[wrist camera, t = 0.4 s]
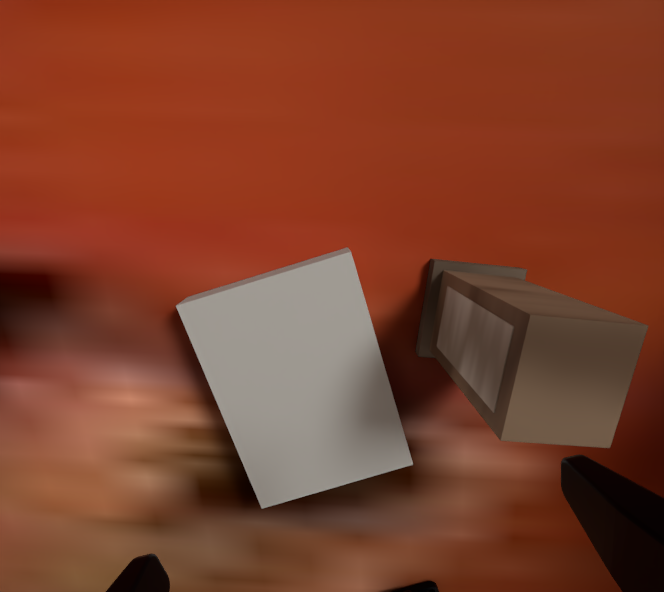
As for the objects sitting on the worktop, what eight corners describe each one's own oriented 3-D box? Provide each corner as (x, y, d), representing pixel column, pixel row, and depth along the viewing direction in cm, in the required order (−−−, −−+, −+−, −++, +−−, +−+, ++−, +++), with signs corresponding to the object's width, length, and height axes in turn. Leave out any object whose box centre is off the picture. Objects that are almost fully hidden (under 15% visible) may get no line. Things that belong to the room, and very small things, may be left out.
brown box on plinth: (499, 358, 25) (620, 460, 15) (415, 351, 24) (482, 451, 14) (519, 267, 23) (668, 314, 13) (430, 258, 23) (517, 299, 13)
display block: (405, 444, 26) (413, 464, 24) (265, 485, 26) (261, 508, 24) (347, 247, 22) (350, 251, 20) (187, 297, 23) (175, 305, 21)
